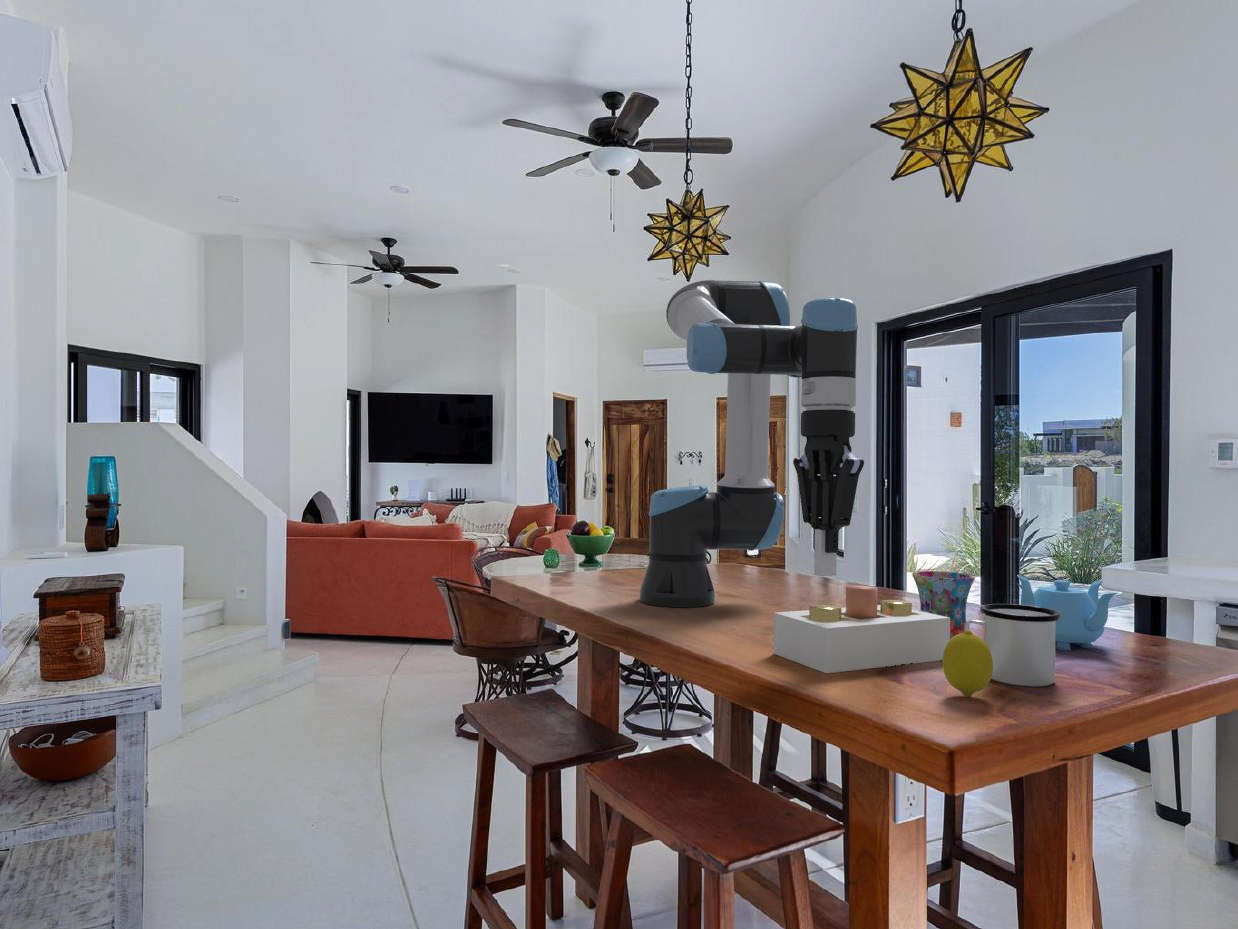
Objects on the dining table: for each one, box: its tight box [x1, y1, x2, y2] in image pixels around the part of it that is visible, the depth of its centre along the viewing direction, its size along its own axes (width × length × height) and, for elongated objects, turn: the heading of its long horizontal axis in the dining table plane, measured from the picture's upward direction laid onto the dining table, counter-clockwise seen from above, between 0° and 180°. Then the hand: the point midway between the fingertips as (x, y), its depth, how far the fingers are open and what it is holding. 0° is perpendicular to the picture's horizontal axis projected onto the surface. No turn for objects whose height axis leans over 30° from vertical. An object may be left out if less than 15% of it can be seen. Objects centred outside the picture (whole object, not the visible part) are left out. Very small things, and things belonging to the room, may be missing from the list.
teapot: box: [1016, 574, 1118, 651], centre depth 125 cm, size 13×13×10 cm
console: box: [773, 604, 950, 674], centre depth 115 cm, size 12×22×6 cm, turn 114°
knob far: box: [879, 599, 913, 617], centre depth 118 cm, size 4×4×5 cm
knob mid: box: [845, 585, 879, 620], centre depth 115 cm, size 4×4×5 cm
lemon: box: [942, 630, 993, 698], centre depth 95 cm, size 6×6×8 cm
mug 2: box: [965, 603, 1061, 688], centre depth 105 cm, size 12×9×9 cm
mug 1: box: [911, 570, 976, 639], centre depth 127 cm, size 12×9×11 cm
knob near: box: [808, 604, 842, 623], centre depth 113 cm, size 4×4×5 cm
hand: (825, 574), depth 113 cm, fingers closed
